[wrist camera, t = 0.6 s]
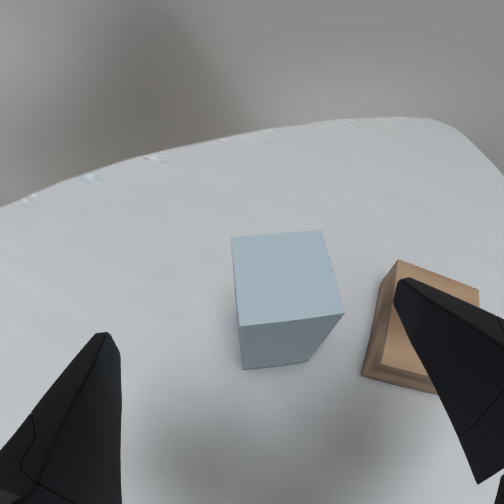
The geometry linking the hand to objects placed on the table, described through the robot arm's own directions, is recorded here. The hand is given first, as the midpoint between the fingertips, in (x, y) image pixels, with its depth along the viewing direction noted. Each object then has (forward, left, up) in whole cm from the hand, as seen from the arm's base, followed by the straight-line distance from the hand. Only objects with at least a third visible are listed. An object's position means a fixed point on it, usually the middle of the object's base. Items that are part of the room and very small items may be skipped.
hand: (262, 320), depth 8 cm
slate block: (+4, -3, -15) cm, 16 cm away
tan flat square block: (-1, -15, -15) cm, 21 cm away
